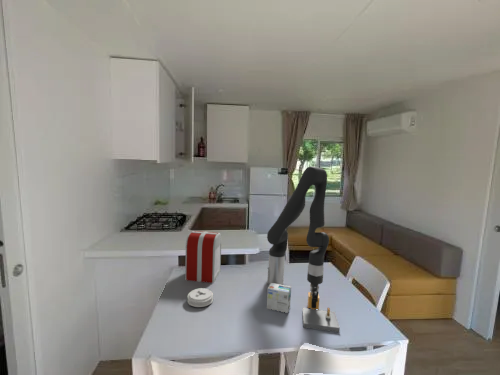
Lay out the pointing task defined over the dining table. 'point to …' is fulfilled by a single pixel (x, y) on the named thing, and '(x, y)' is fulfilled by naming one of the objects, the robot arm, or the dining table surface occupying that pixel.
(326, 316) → the pigtail
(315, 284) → the robot arm
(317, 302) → the orange block
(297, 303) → the dining table surface
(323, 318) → the plate
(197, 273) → the red striped box
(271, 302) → the light bulb box
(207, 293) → the lid
